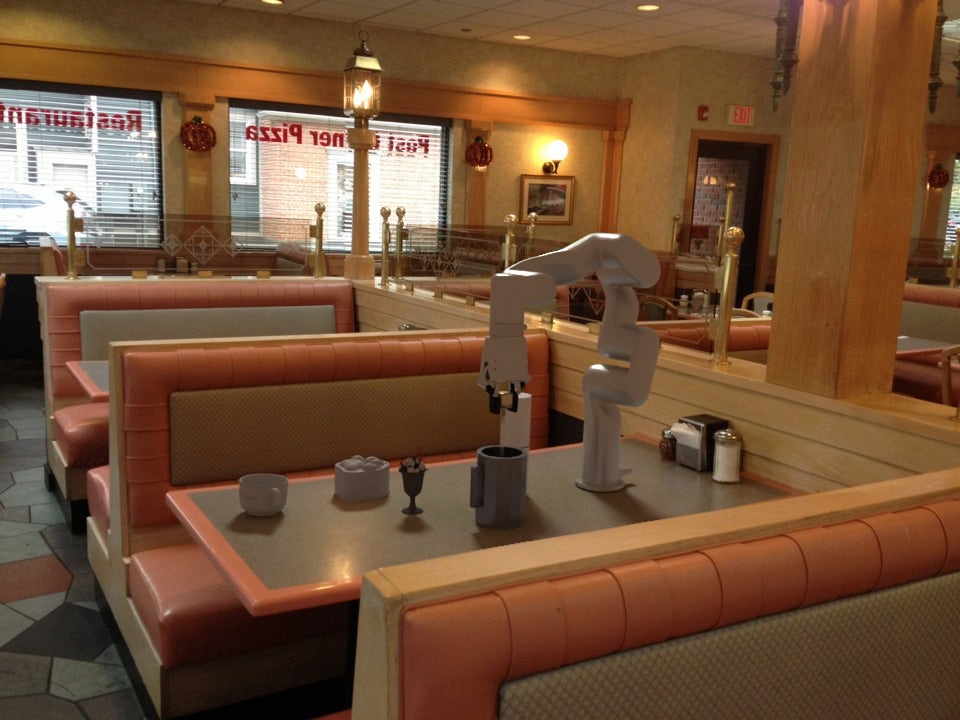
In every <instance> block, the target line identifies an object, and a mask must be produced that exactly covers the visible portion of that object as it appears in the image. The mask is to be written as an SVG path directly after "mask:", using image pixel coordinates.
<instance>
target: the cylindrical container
mask: <svg viewBox="0 0 960 720" xmlns="http://www.w3.org/2000/svg"><path fill="white" fill-rule="evenodd" d="M531 415H532V394H531V393H530V394H529V393H527V392H521V394H519V395H518V409H517V412H516V413H514V412H511V411H508V410H507V408H506V417H505V445H504V446H512V447H518V448H521V449H523V450H526V452H527V473H526V497H527V496H528V486H529V468H530V467H529V465H530V463H529V462H530V461H529V460H530V444H531V443H530V440H531V438H530V435H531V419H532V418H531Z"/></svg>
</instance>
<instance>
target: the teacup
mask: <svg viewBox="0 0 960 720" xmlns="http://www.w3.org/2000/svg"><path fill="white" fill-rule="evenodd" d="M289 480H290V479H289V478H288V477H286V476H284V475H280V474H276V473H275V474H274V473H252V474H247V475H244V476H241V477H240V478H239V479H238V482H239V485H238V488H239V490H238V491H239V493H238V494H239V495H238V496H239V497H238V498H239V504H240V507H241V508H242V509H243V510H244V511H245V512H246V513H247V514H248V515H250V516H255V517H270V516H274V515H277V514H278V513H279V512H280V511H281V510H283V509H284V508H285V507H286V505H287V500H288V499H287V498H288V491H289V488H288V487H289Z"/></svg>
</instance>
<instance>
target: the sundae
mask: <svg viewBox="0 0 960 720" xmlns="http://www.w3.org/2000/svg"><path fill="white" fill-rule="evenodd" d="M422 449H423V447H422V446H421V447H419V448H418V450H417V451H416V453H413V454H411V455H410V456H409V457H407V458H406V460H405V461H404V463H403V462H402V461H400V462H399V463H400V466H399V467H398V473H400V474H401V476H402V477H401V478H402V486H403V492H404V493H405V494H406V495H407V496H408V497H409V506H406V507H403V508H402V509H401V512H402V513H403V514H405V515H409V514H416V515H420V514H422V513H423V512H424V509H422V508H421V507H417V504H416V498H417V497H418V495H420V494H421V493H422V489H423V485H424V479H425V473H426V472H427V471H428V468H427V467H426V464H425V462H424V461H422V460H423V457H422V456H421V450H422ZM417 454H418V455H419V456H417ZM419 513H420V514H419Z"/></svg>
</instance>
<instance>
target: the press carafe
mask: <svg viewBox="0 0 960 720" xmlns="http://www.w3.org/2000/svg"><path fill="white" fill-rule="evenodd" d="M526 473H527V452H526V450H523V449H521V448H518V447H512V446H504V458H502V457H500V444H499V445H498V444H497V445H493V444H492V445H486V446H481V447H480V448H478V449H477V450H476V464H475V465H471V466H470V485H469V487H470V488H469V492H470V493H469V507H470V508H472V509H474V522H475V524H477V525H479V526H481V527H483V528H488V529H493V530H511V529H512V530H513V529H515V528H516V529H517V528H520V527H521V526H522V525H524V524H525V517H526V497H527V496H526Z"/></svg>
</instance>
